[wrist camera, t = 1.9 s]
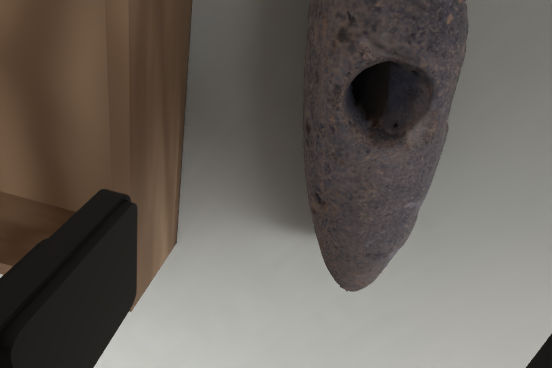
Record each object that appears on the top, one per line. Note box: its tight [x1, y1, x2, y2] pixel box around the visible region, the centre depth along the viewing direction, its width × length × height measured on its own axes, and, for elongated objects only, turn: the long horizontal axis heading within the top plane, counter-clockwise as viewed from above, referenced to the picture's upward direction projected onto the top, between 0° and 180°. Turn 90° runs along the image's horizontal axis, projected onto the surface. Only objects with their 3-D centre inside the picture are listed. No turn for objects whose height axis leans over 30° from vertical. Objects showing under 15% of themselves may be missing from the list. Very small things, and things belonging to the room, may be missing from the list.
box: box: [0, 0, 192, 312], centre depth 18 cm, size 14×22×6 cm, turn 170°
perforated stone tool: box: [303, 0, 468, 292], centre depth 16 cm, size 15×5×7 cm, turn 178°
